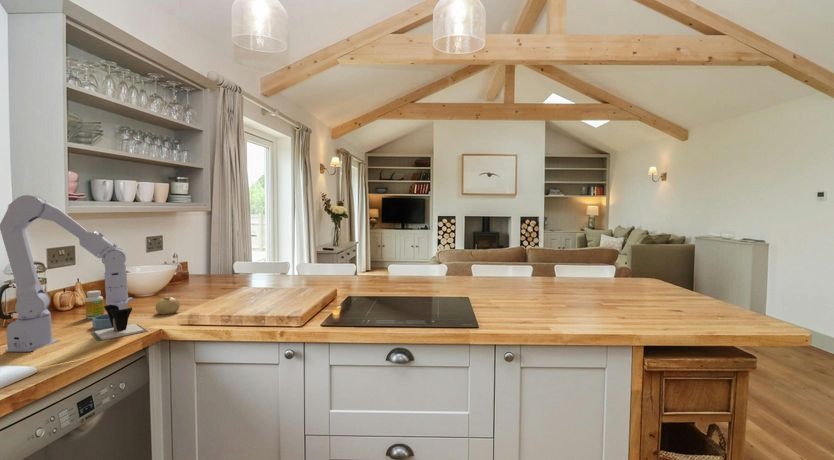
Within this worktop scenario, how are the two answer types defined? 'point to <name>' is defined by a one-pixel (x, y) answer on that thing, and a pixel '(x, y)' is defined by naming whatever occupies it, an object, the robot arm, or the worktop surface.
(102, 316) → the bowl
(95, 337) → the mat
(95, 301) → the supplement bottle
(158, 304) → the onion
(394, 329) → the worktop surface
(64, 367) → the worktop surface
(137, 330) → the cover
